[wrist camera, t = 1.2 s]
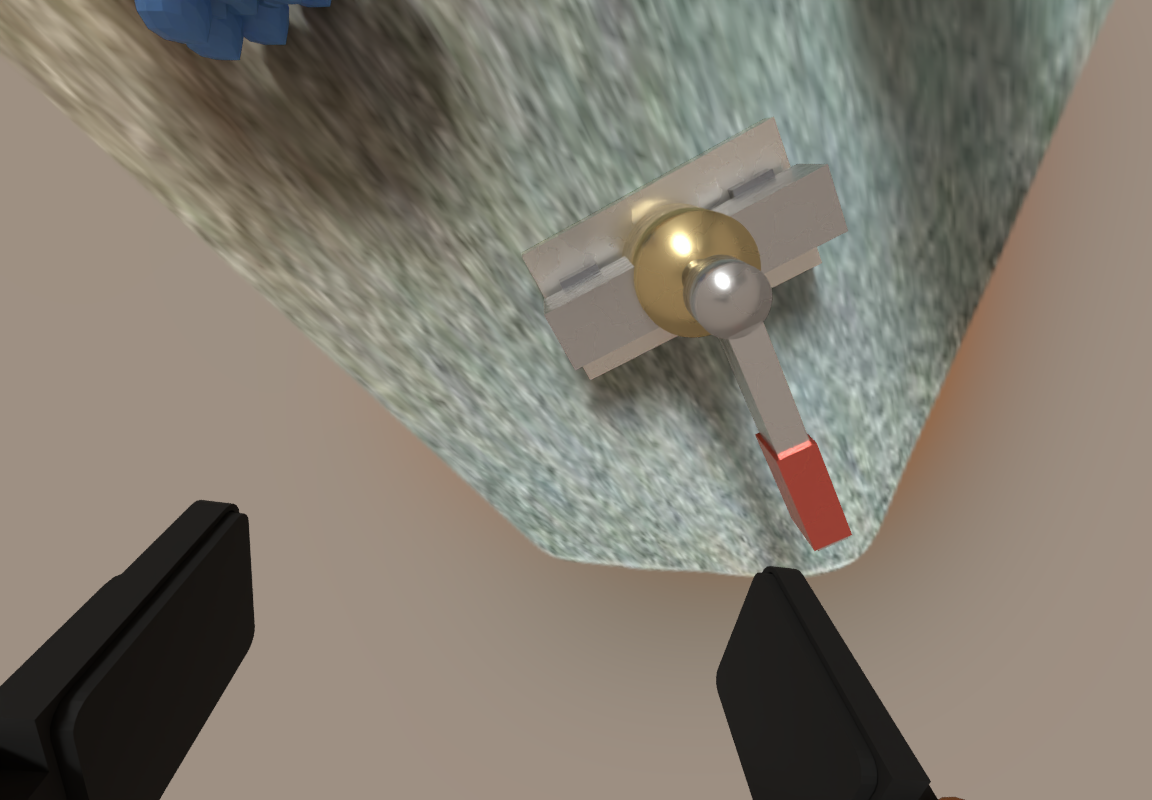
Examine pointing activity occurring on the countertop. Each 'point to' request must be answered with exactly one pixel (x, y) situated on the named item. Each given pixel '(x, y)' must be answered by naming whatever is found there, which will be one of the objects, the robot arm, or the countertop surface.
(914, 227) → the countertop surface
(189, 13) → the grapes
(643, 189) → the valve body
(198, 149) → the countertop surface
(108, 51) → the countertop surface
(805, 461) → the valve lever
